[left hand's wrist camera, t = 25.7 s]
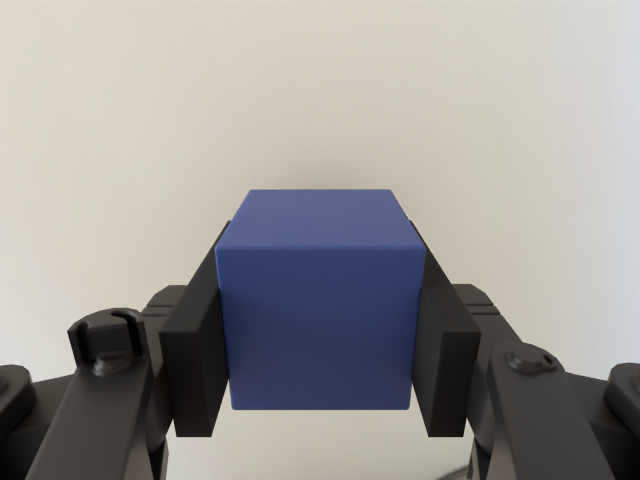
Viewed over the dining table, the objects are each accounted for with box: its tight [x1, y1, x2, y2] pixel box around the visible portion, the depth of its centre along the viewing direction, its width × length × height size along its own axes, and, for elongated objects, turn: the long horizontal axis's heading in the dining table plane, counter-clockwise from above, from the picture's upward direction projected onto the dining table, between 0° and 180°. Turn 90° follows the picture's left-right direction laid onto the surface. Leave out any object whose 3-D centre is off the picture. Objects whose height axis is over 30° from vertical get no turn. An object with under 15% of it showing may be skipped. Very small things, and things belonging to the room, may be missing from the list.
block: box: [215, 190, 426, 410], centre depth 12 cm, size 5×5×5 cm
